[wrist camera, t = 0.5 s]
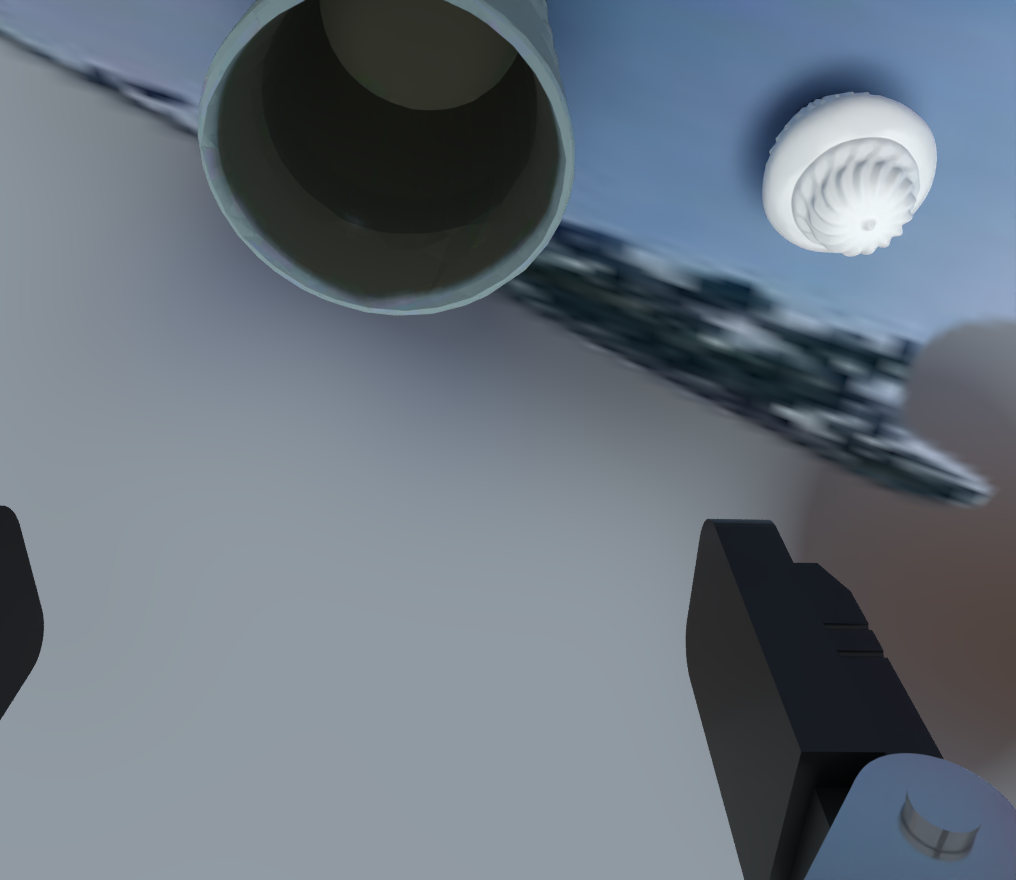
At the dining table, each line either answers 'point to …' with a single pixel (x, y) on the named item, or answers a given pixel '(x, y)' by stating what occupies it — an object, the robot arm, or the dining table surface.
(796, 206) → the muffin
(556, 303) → the dining table surface
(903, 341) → the dining table surface
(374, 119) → the grey green cup
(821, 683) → the robot arm
